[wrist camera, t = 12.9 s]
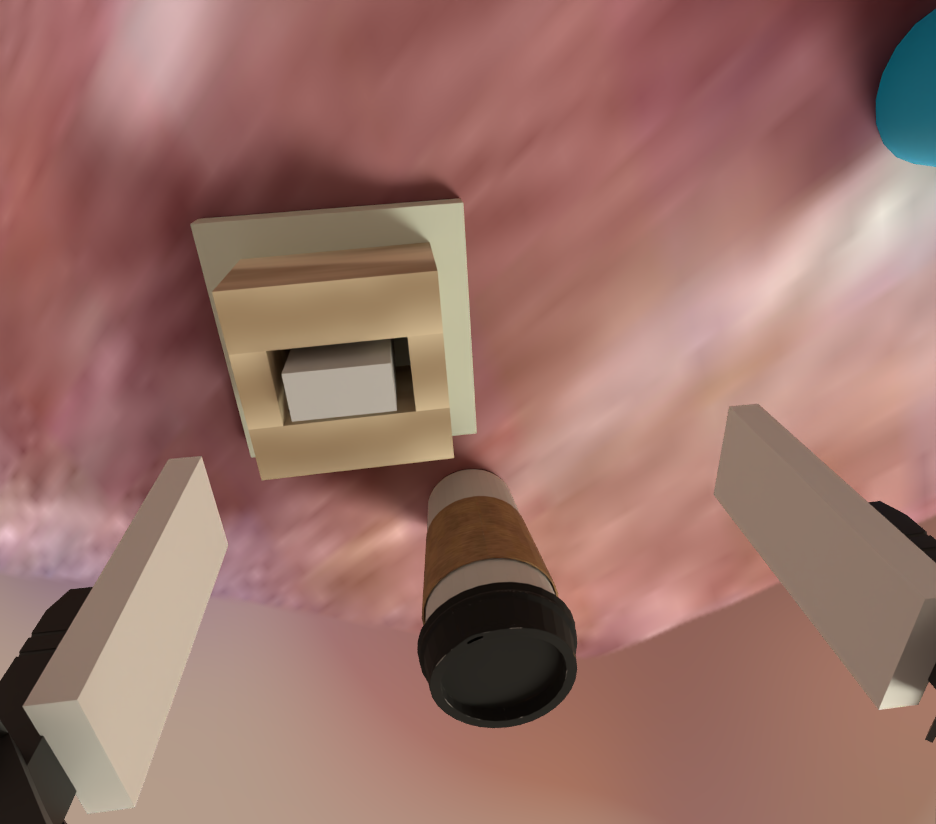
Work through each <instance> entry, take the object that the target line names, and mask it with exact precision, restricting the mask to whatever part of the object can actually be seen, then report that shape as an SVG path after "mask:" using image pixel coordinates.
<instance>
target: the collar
mask: <svg viewBox="0 0 936 824" xmlns="http://www.w3.org/2000/svg"><path fill="white" fill-rule="evenodd" d="M212 294H213V298H214V302H215V306H216V309H217V313H218V317H219V321H220V324H221V328H222V332H223V336H224V340H225V343H226V347H227V351H228V355H229V358H230V362H231V366H232V370H233V374H234V377H235V381H236V385H237V389H238V392H239V396H240V400H241V404H242V408H243V411H244V415H245V419H246V423H247V427H248V430H249V434H250V438H251V442H252V445H253V449H254V453H255V457H256V461H257V464H258V468H259V472H260V476H261V479H262V480H269V479H278V478H286V477H295V476H303V475H312V474H321V473H329V472H338V471H347V470H355V469H364V468H372V467H381V466H390V465H398V464H407V463H415V462H424V461H433V460H441V459H450V458H454V452H453V440H452V429H451V417H450V406H449V394H448V383H447V372H446V360H445V349H444V337H443V326H442V315H441V303H440V292H439V280H438V270H437V267H436V263H435V259H434V256H433V252H432V249H431V245H430V242H425V243H414V244H403V245H392V246H381V247H370V248H359V249H348V250H337V251H326V252H315V253H303V254H292V255H281V256H270V257H259V258H248V259H240V260H239V261H238V263H237V264H236V265H235V266H234V267H233V268H232V269H231V271H230V272H229V273H228V274H227V275H226V276H225V277H224V279H223V280H222V281H221V282H220V283H219V284H218V286H217V287H216V288H215V289H214V290H213V291H212ZM401 337H407V338H408V346H409V355H410V363H411V365H405V366H396V401H397V411H390V412H381V413H371V414H362V415H352V416H342V417H333V418H323V419H313V420H304V421H294V422H292V420H291V415H290V411H289V406H288V401H287V397H286V392H285V388H284V383H283V378H282V371H283V369H284V366H285V363H286V361H287V358H288V355H289V353H290V350H291V349H292V348H302V347H312V346H321V345H331V344H341V343H351V342H361V341H371V340H381V339H391V338H401Z"/></svg>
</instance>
